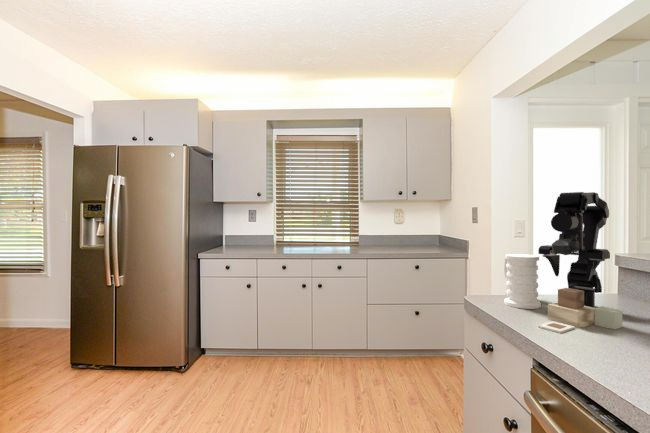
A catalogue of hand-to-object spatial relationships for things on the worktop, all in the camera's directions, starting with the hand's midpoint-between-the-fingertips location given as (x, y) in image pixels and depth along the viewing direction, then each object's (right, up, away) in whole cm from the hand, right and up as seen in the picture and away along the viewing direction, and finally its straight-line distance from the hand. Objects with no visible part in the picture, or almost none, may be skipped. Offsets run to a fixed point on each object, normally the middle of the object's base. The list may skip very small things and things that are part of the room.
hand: (572, 278), depth 115 cm
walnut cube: (-5, -8, -7) cm, 11 cm away
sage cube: (+3, -12, -11) cm, 17 cm away
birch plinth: (-5, -13, -7) cm, 15 cm away
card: (-13, -12, -13) cm, 22 cm away
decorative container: (-9, -12, +13) cm, 20 cm away
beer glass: (-5, -12, +26) cm, 29 cm away
